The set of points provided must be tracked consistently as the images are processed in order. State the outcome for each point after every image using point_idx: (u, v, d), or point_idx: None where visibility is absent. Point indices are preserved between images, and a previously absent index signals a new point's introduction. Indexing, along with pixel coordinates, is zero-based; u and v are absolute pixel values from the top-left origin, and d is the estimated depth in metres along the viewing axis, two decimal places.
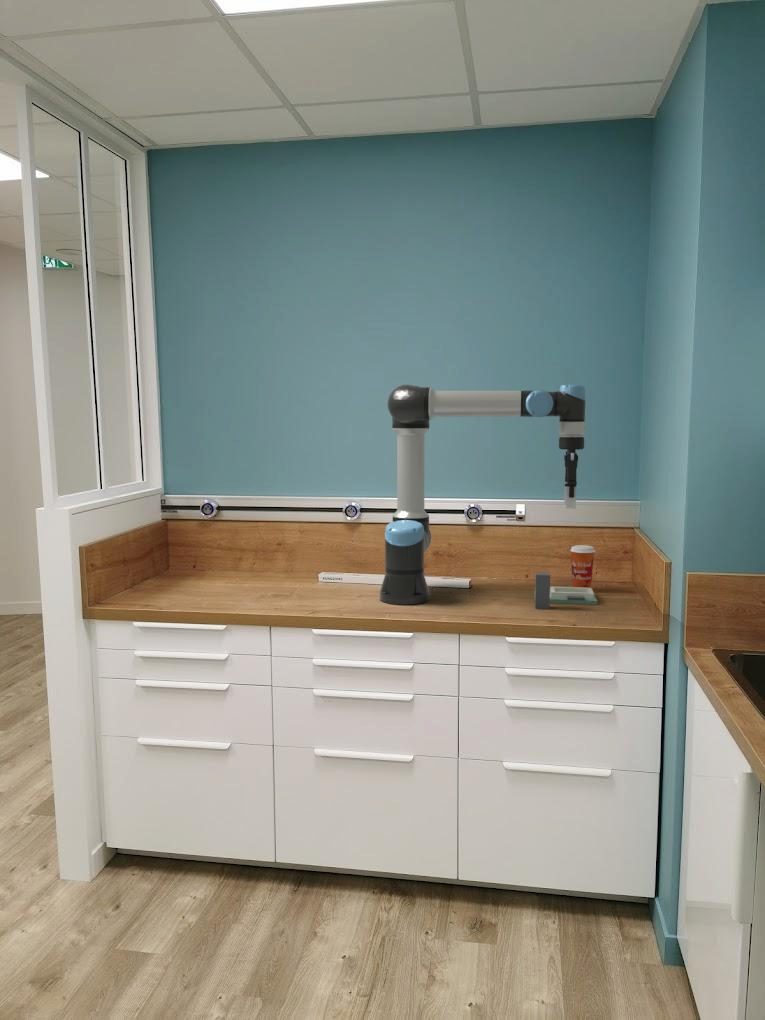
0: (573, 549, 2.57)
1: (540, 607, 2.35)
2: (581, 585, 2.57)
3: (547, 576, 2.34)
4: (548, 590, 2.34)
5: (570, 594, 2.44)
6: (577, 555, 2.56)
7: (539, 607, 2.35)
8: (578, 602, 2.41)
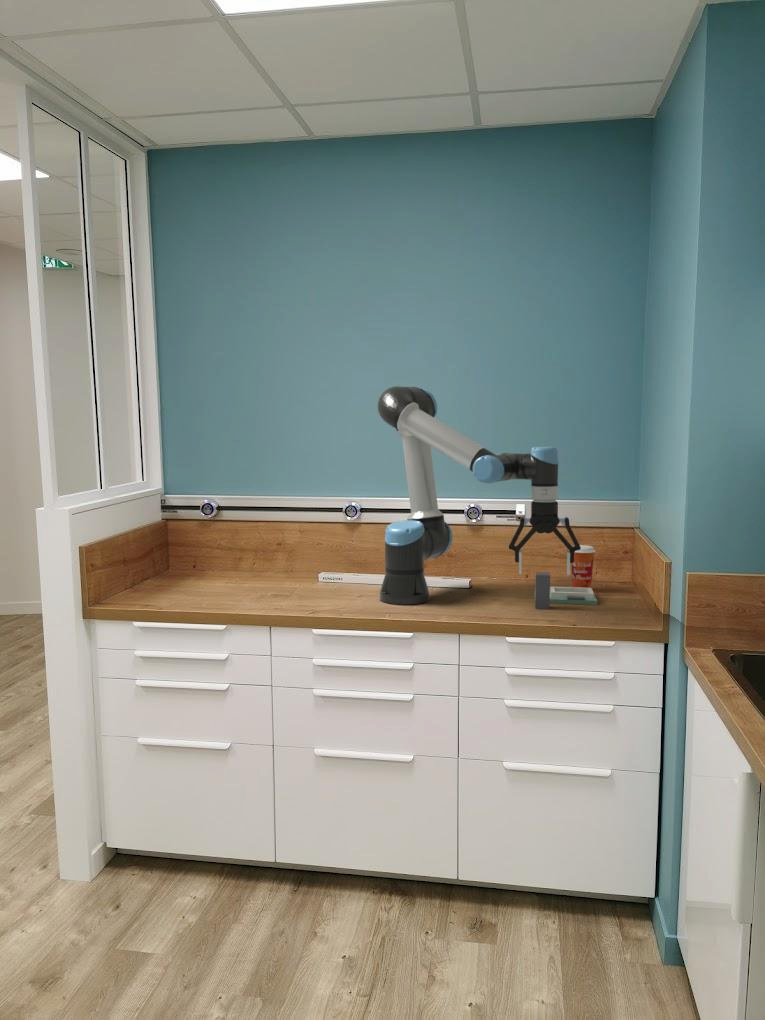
0: None
1: (540, 607, 2.35)
2: (581, 585, 2.57)
3: (547, 576, 2.34)
4: (548, 590, 2.34)
5: (570, 594, 2.44)
6: (577, 555, 2.56)
7: (539, 607, 2.35)
8: (578, 602, 2.41)
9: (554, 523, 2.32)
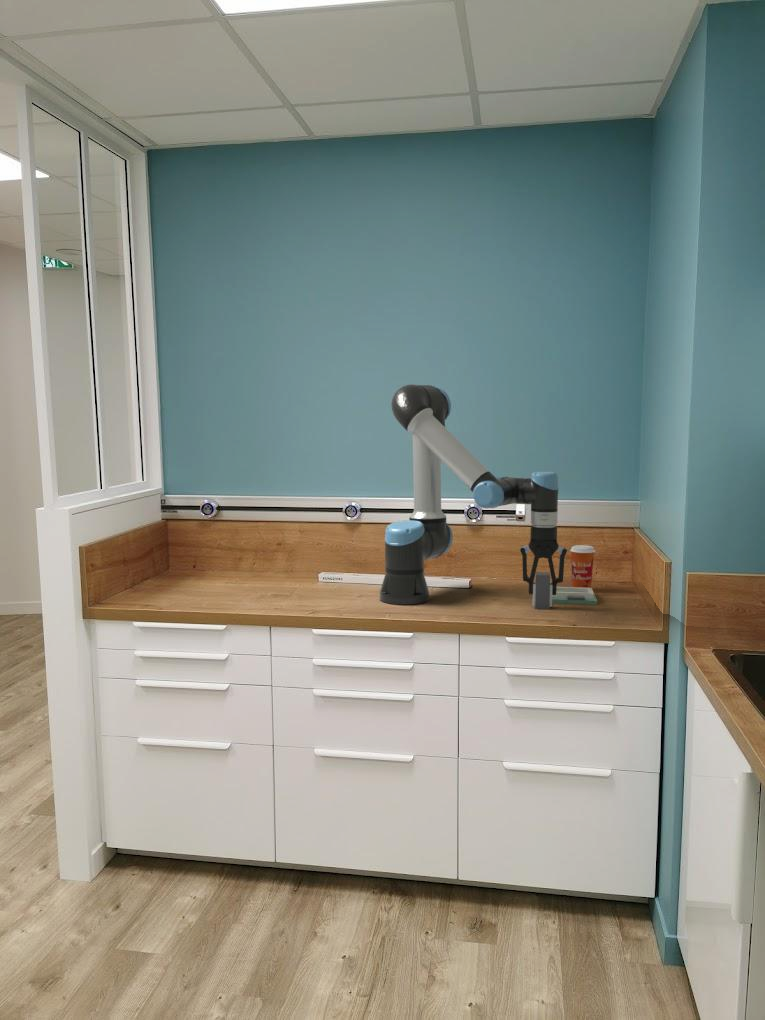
0: (573, 549, 2.57)
1: (540, 607, 2.35)
2: (581, 585, 2.57)
3: (547, 576, 2.34)
4: (548, 590, 2.34)
5: (570, 594, 2.44)
6: (577, 555, 2.56)
7: (539, 607, 2.35)
8: (578, 602, 2.41)
9: (552, 547, 2.33)
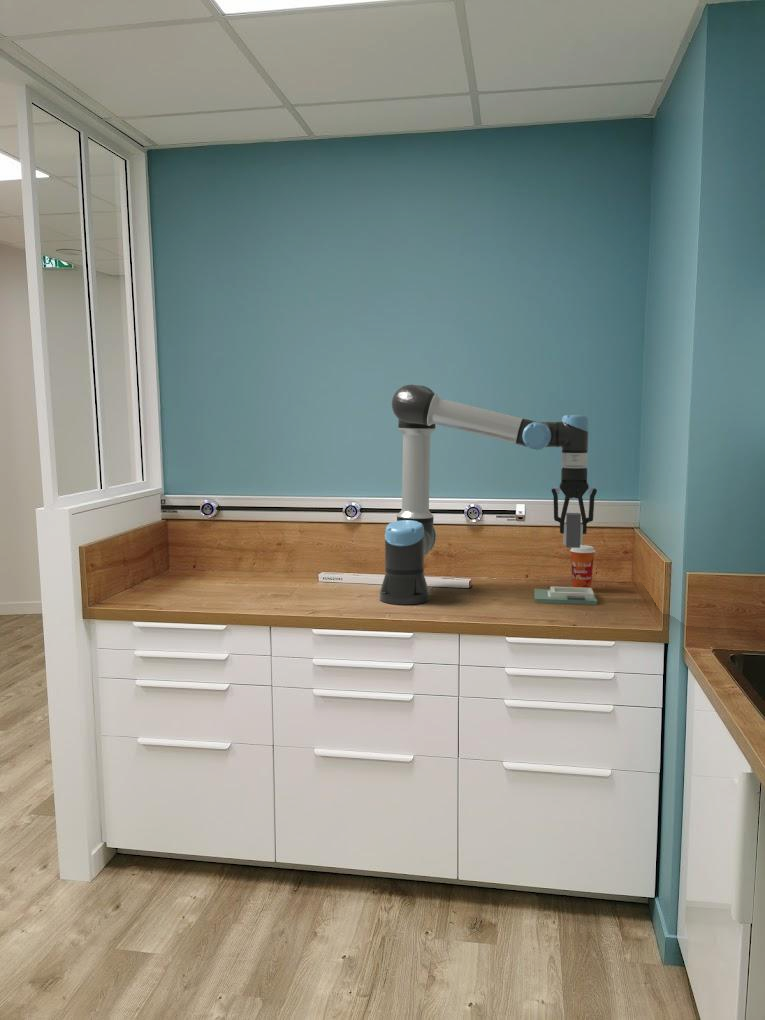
0: (573, 549, 2.57)
1: (571, 545, 2.44)
2: (581, 585, 2.57)
3: (578, 515, 2.43)
4: (579, 529, 2.43)
5: (570, 594, 2.44)
6: (577, 555, 2.56)
7: (570, 545, 2.44)
8: (578, 602, 2.41)
9: (582, 488, 2.42)
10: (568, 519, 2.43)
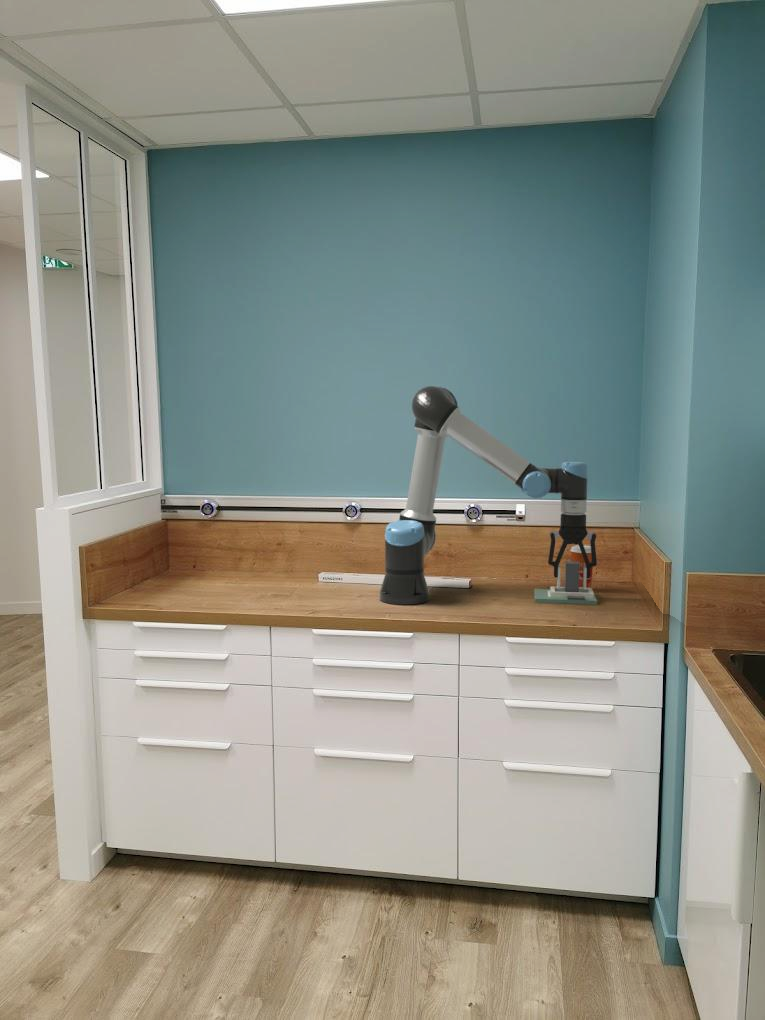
0: (573, 549, 2.57)
1: None
2: (581, 585, 2.57)
3: (576, 564, 2.45)
4: (577, 578, 2.45)
5: (570, 594, 2.44)
6: (577, 555, 2.56)
7: None
8: (578, 602, 2.41)
9: (582, 534, 2.44)
10: (567, 568, 2.45)
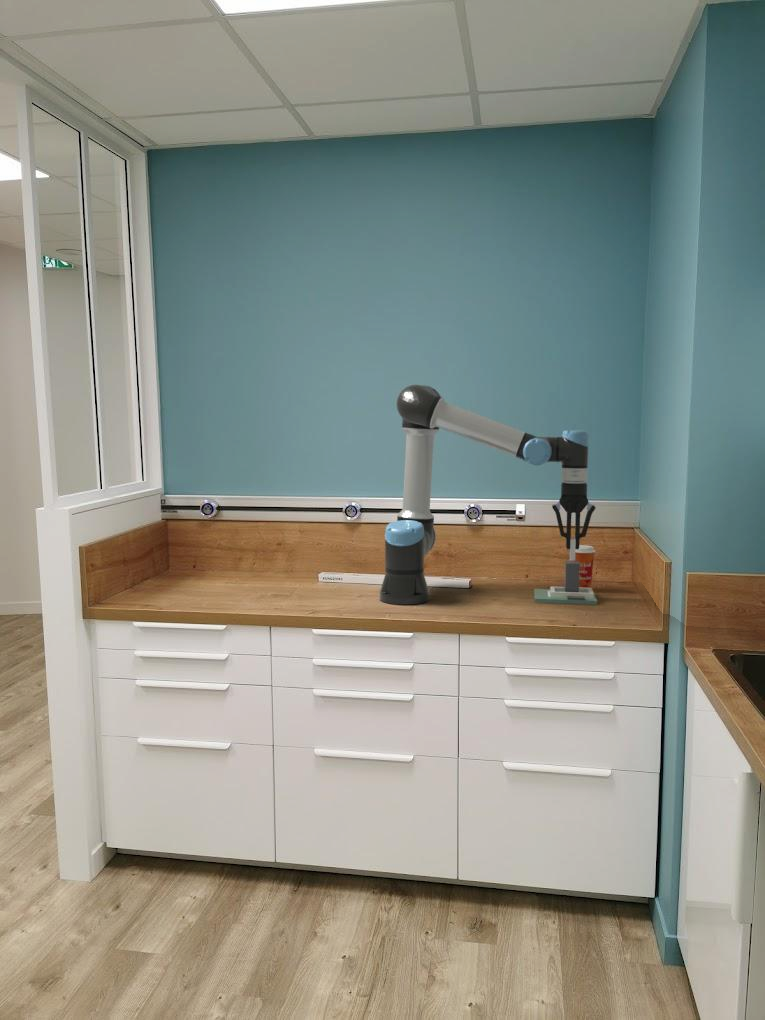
0: None
1: None
2: (581, 585, 2.57)
3: (577, 564, 2.45)
4: (577, 578, 2.45)
5: (570, 594, 2.44)
6: (577, 555, 2.56)
7: None
8: (578, 602, 2.41)
9: (582, 502, 2.43)
10: (567, 568, 2.45)
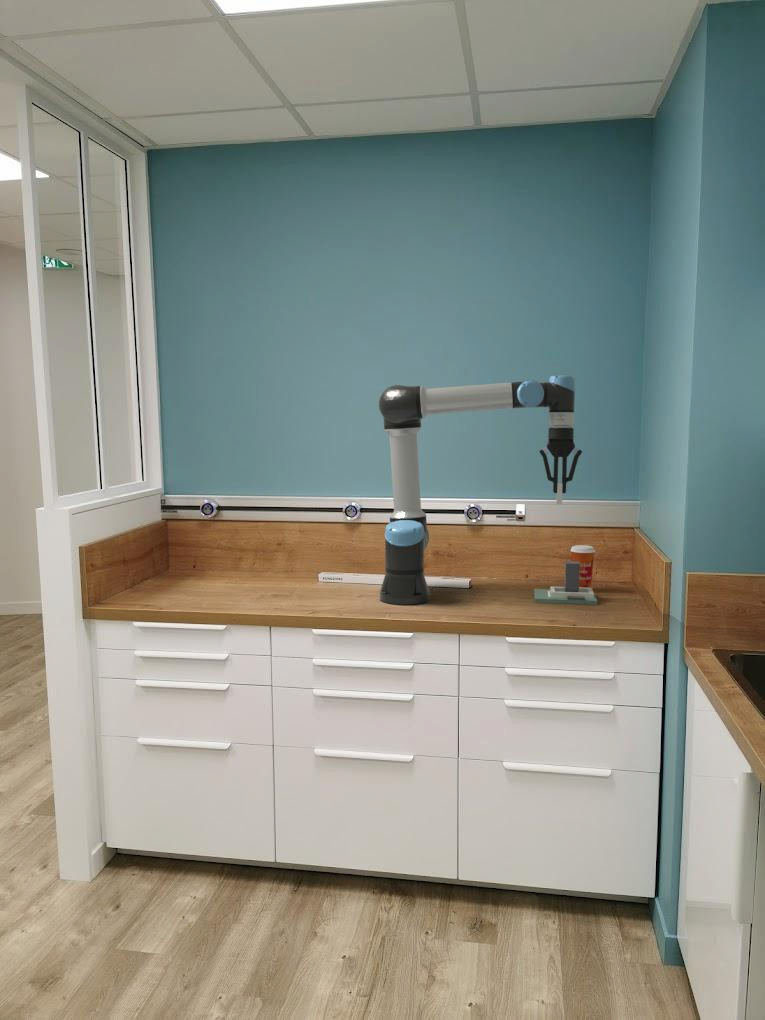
0: (573, 549, 2.57)
1: None
2: (581, 585, 2.57)
3: (577, 564, 2.45)
4: (577, 578, 2.45)
5: (570, 594, 2.44)
6: (577, 555, 2.56)
7: None
8: (578, 602, 2.41)
9: (569, 447, 2.48)
10: (567, 568, 2.45)
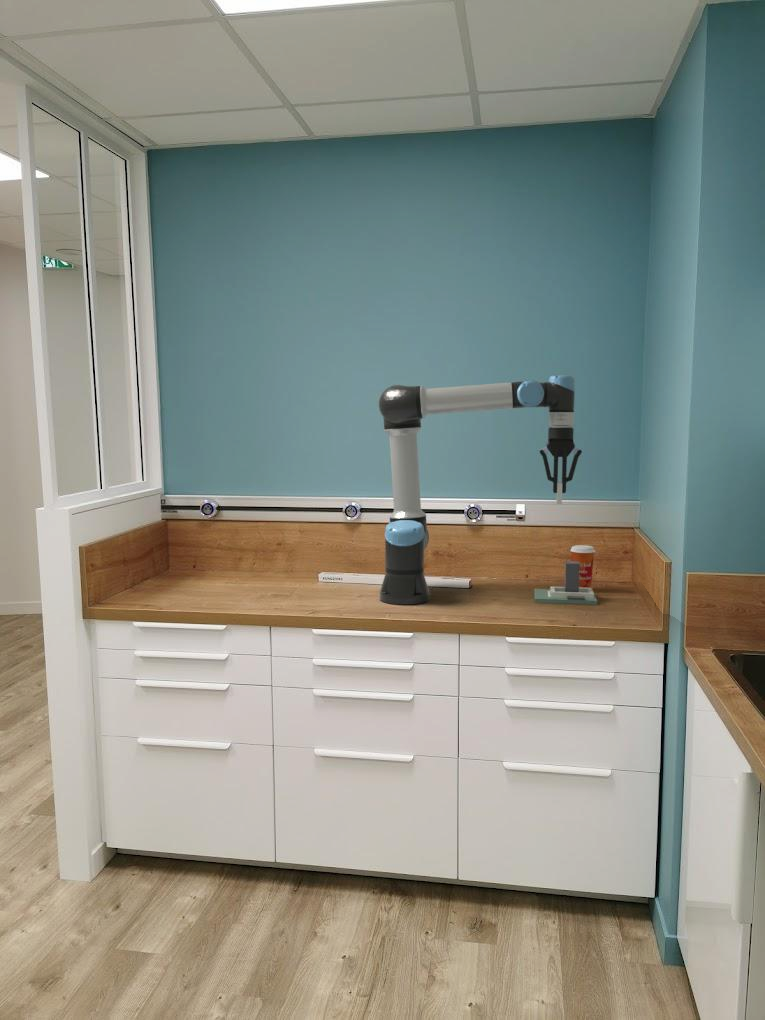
0: (573, 549, 2.57)
1: None
2: (581, 585, 2.57)
3: (577, 564, 2.45)
4: (577, 578, 2.45)
5: (570, 594, 2.44)
6: (577, 555, 2.56)
7: None
8: (578, 602, 2.41)
9: (568, 446, 2.48)
10: (567, 568, 2.45)
